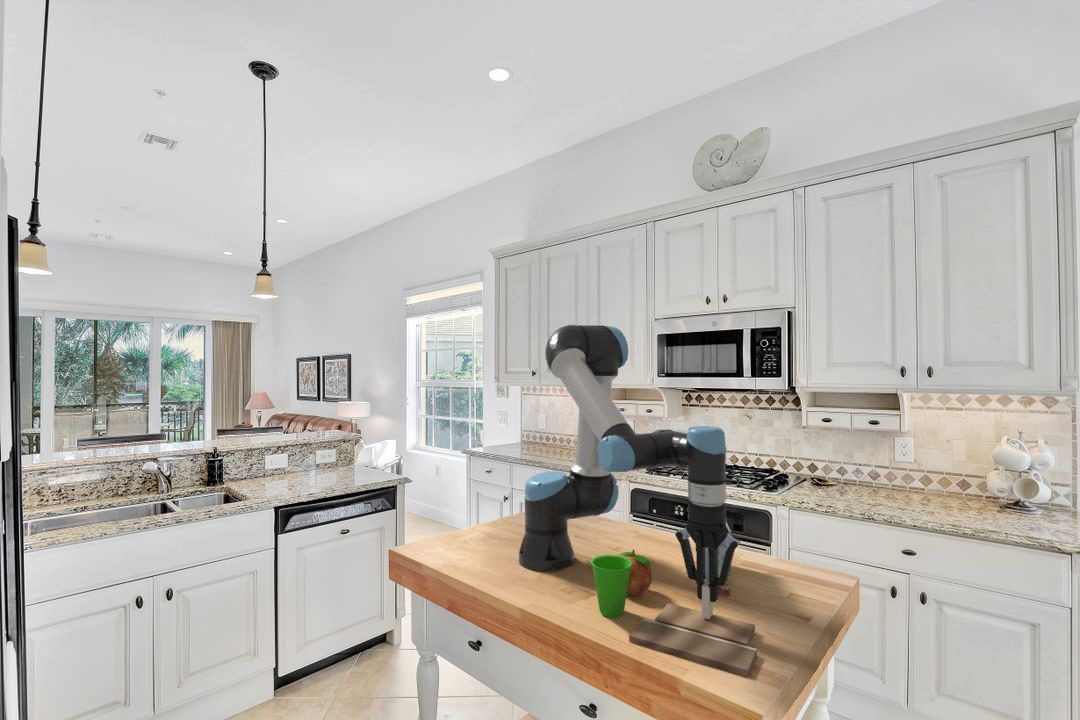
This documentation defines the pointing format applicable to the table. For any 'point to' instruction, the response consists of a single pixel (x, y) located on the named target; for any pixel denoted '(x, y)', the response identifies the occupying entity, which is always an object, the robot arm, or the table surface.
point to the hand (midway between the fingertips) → (707, 615)
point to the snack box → (720, 566)
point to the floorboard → (695, 646)
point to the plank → (707, 624)
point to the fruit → (638, 573)
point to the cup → (611, 583)
